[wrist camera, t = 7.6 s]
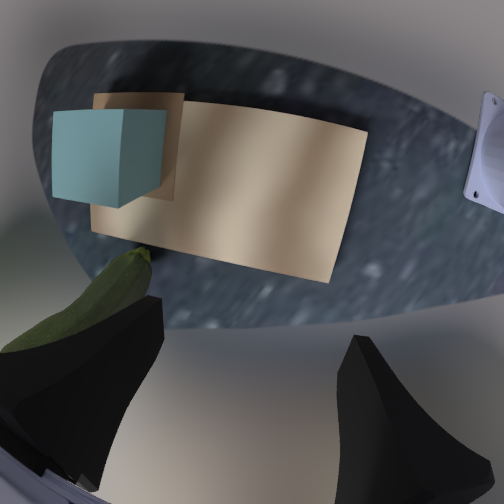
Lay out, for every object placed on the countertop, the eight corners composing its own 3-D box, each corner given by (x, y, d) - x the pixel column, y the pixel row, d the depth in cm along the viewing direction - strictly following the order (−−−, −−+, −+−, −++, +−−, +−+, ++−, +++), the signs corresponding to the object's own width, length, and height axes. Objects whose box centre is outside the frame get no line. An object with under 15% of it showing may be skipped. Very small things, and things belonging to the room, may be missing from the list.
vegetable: (173, 285, 23) (23, 515, 5) (130, 290, 24) (-17, 477, 6) (155, 233, 21) (-55, 452, 3) (111, 242, 22) (-76, 418, 4)
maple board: (365, 124, 16) (369, 124, 15) (327, 274, 21) (328, 284, 19) (104, 94, 17) (94, 93, 16) (100, 225, 22) (91, 231, 21)
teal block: (167, 110, 16) (123, 109, 12) (159, 186, 18) (118, 208, 14) (103, 109, 17) (53, 111, 12) (99, 178, 19) (52, 196, 14)
